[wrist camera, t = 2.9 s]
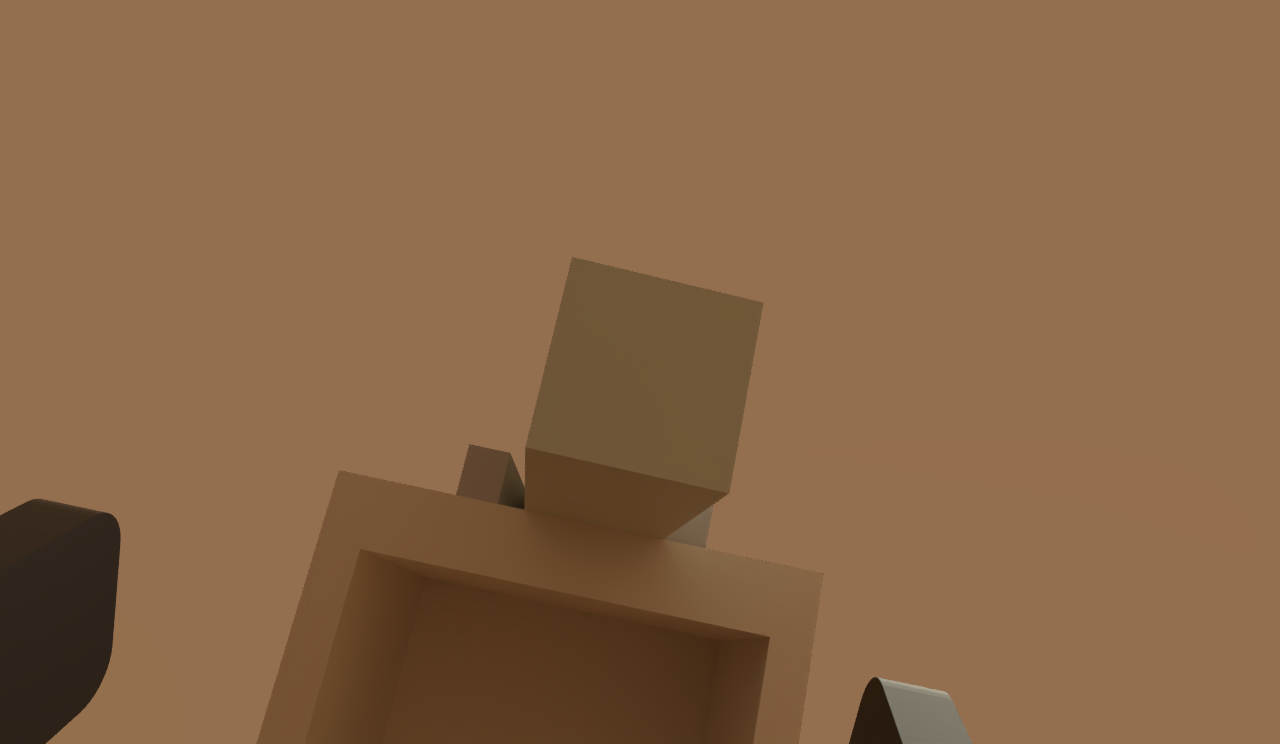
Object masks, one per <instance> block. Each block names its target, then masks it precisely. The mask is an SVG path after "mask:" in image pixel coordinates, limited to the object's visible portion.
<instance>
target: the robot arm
mask: <svg viewBox="0 0 1280 744" xmlns="http://www.w3.org/2000/svg"><path fill="white" fill-rule="evenodd" d="M119 554H120V528H119V524H118V522H117V520H116V518H115V517H114V516H113V515H111V514H109V513H105V512H100V511H95V510H91V509H86V508H81V507H76V506H72V505H67V504H62V503H57V502H52V501H48V500H43V499H33V500H31V501H28V502H26V503H24V504H22V505H20V506H18V507H16V508H14V509H12V510H10V511H8V512H6V513H4V514H2V515H0V744H45V743H47V742H48V741H49V740H50V739H51V738H52V737H53V736H54V735H56V734H57V733H58V732H59V731H60V730H61V729H62V728H63V727H64V726H66V725H67V724H68V723H69V722H70V721H71V720H72V719H73V718H74V717H76V716H77V715H78V714H79V713H80V712H81V711H82V710H83V709H84V708H85V707H86V706H87V704H88V703H89V702H90V701H91V699H92V698H93V696H94V695H95V693H96V691H97V690H98V688H99V686H100V684H101V682H102V680H103V678H104V675H105V673H106V670H107V667H108V664H109V661H110V656H111V652H112V643H113V630H114V618H115V604H116V592H117V579H118V566H119ZM849 744H972V742H971V740H970V738H969V735H968V733H967V731H966V729H965V727H964V725H963V723H962V720H961V718H960V716H959V714H958V712H957V710H956V708H955V706H954V703H953V701H952V699H951V697H950V696H949V695H948V694H947V693H946V692H943V691H939V690H934V689H930V688H925V687H920V686H915V685H911V684H906V683H901V682H897V681H892V680H887V679H882V678H878V677H875V678H872V679H871V680H870V682H869V683H868V685H867V686H866V688H865V691H864V693H863V696H862V700H861V703H860V706H859V710H858V713H857V717H856V721H855V724H854V728H853V731H852V735H851V738H850V742H849Z"/></svg>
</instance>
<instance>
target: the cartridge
mask: <svg viewBox="0 0 1280 744" xmlns="http://www.w3.org/2000/svg"><path fill="white" fill-rule="evenodd" d="M762 308H763V302H758V301H754V300H750V299H746V298H742V297H737V296H733V295H729V294H725V293H721V292H716V291H712V290H708V289H704V288H700V287H695V286H691V285H687V284H683V283H679V282H675V281H670V280H666V279H661V278H658V277H654V276H649V275H645V274H641V273H637V272H633V271H629V270H624V269H620V268H616V267H612V266H607V265H603V264H599V263H595V262H591V261H587V260H582V259H578V258H574V257H572V260H571V263H570V268H569V272H568V276H567V280H566V284H565V288H564V292H563V296H562V300H561V304H560V308H559V312H558V317H557V320H556V325H555V329H554V333H553V337H552V341H551V345H550V349H549V353H548V357H547V361H546V365H545V369H544V373H543V377H542V382H541V386H540V390H539V394H538V398H537V402H536V406H535V410H534V415H533V418H532V422H531V427H530V430H529V434H528V439H527V443H526V447H525V507H524V510H528V511H533V512H537V513H542V514H547V515H552V516H556V517H561V518H566V519H570V520H575V521H580V522H584V523H589V524H594V525H598V526H603V527H608V528H613V529H617V530H622V531H627V532H631V533H636V534H641V535H645V536H650V537H655V538H659V539H665V538H666V537H667V536H669V535H670V534H672V533H673V532H675V531H676V530H677V529H679V528H680V527H682V526H683V525H685V524H686V523H688V522H689V521H690V520H692V519H693V518H695V517H696V516H698V515H699V514H700V513H702V512H703V511H705V510H706V509H708V508H709V507H710V506H712V505H713V504H715V503H716V502H718V501H719V500H720V499H722V498H723V497H725V496H726V495H728V494H729V492H730V486H731V480H732V475H733V469H734V464H735V458H736V452H737V447H738V442H739V436H740V430H741V424H742V419H743V414H744V408H745V403H746V397H747V391H748V385H749V380H750V375H751V369H752V363H753V358H754V352H755V346H756V341H757V335H758V330H759V324H760V319H761V313H762Z"/></svg>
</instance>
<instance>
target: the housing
mask: <svg viewBox="0 0 1280 744" xmlns="http://www.w3.org/2000/svg"><path fill="white" fill-rule="evenodd" d="M524 507H525V487H524V485H523V483H522V480H521V478H520V476H519V473H518V471H517V468H516V466H515V463H514V461H513V458H512V456H511V454H510V453H508V452H503V451H499V450H494V449H489V448H484V447H480V446H475V445H470V444H469V448H468V452H467V456H466V459H465V463H464V467H463V471H462V474H461V478H460V482H459V486H458V490H457V493H456V495H453V494H448V493H444V492H439V491H434V490H430V489H424V488H420V487H415V486H410V485H406V484H401V483H396V482H392V481H387V480H383V479H377V478H373V477H368V476H364V475H359V474H355V473H350V472H345V471H340V470H339V472H338V475H337V478H336V481H335V485H334V488H333V492H332V495H331V498H330V501H329V505H328V508H327V511H326V515H325V518H324V521H323V524H322V528H321V531H320V534H319V538H318V541H317V544H316V548H315V551H314V554H313V558H312V561H311V564H310V568H309V571H308V574H307V578H306V581H305V584H304V588H303V591H302V594H301V597H300V601H299V604H298V607H297V611H296V614H295V618H294V621H293V624H292V627H291V631H290V634H289V638H288V641H287V644H286V647H285V651H284V654H283V658H282V661H281V664H280V667H279V670H278V674H277V677H276V681H275V684H274V687H273V690H272V694H271V697H270V700H269V704H268V707H267V710H266V714H265V717H264V720H263V724H262V727H261V730H260V734H259V737H258V740H257V744H799V737H800V731H801V724H802V718H803V711H804V703H805V697H806V690H807V683H808V676H809V670H810V662H811V656H812V649H813V642H814V636H815V629H816V622H817V614H818V608H819V602H820V595H821V588H822V581H823V573H819V572H814V571H809V570H805V569H800V568H795V567H790V566H786V565H781V564H777V563H771V562H767V561H763V560H758V559H753V558H748V557H744V556H739V555H735V554H730V553H725V552H720V551H716V550H711V549H706V548H705V547H706V542H707V536H708V530H709V526H710V520H711V515H712V509H713V505H712V506H710V507H709V508H708V509H706V510H705V511H703V512H702V513H700V514H699V515H698V516H696V517H695V518H693V519H692V520H690V521H689V522H688V523H686V524H685V525H683V526H682V527H680V528H679V529H677V530H676V531H675V532H673V533H672V534H670V535H669V536H667V537H666V538H665V539H659V538H655V537H650V536H645V535H641V534H636V533H631V532H627V531H622V530H617V529H613V528H608V527H603V526H598V525H594V524H589V523H584V522H580V521H575V520H570V519H566V518H561V517H556V516H552V515H547V514H542V513H537V512H533V511H528V510H524Z"/></svg>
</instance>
